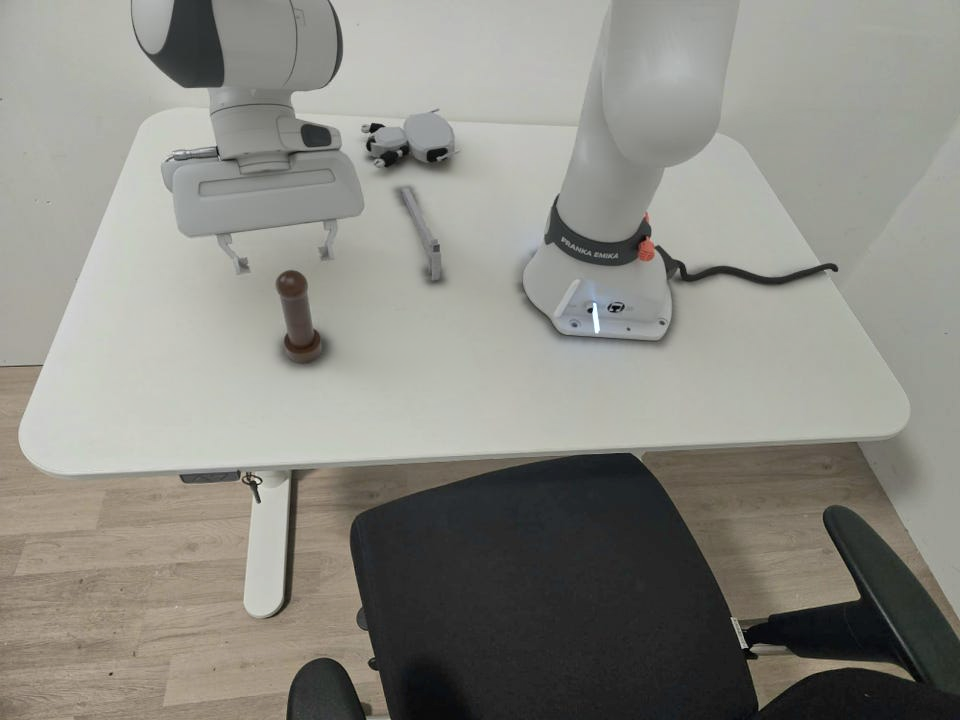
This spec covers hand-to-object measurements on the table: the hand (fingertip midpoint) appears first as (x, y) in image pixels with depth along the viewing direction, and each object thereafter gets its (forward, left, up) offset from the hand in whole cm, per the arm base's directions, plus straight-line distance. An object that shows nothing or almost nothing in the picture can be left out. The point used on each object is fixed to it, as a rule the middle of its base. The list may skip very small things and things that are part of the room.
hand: (286, 267), depth 67 cm
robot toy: (-5, -40, -11) cm, 42 cm away
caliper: (-11, -21, -11) cm, 26 cm away
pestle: (-2, +4, -10) cm, 11 cm away
